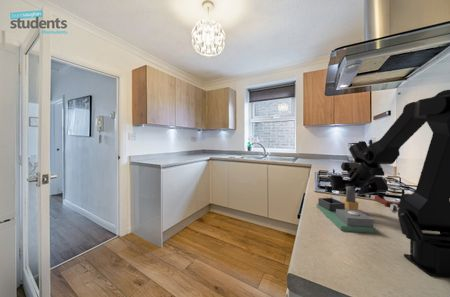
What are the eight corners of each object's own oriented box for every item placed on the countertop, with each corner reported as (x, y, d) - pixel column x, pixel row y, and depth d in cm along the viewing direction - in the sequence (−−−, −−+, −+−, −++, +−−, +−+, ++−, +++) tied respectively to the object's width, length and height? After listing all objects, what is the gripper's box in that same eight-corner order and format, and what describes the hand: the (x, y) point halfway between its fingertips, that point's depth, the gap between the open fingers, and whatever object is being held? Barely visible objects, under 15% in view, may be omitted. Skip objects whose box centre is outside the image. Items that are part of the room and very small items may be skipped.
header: (344, 210, 67) (344, 203, 67) (330, 211, 66) (330, 204, 66) (331, 204, 74) (331, 197, 74) (318, 204, 73) (318, 198, 73)
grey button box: (373, 227, 54) (373, 218, 53) (347, 225, 55) (347, 216, 55) (358, 217, 61) (358, 209, 61) (335, 215, 62) (335, 208, 62)
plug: (358, 212, 69) (358, 183, 69) (348, 211, 70) (349, 183, 69) (352, 208, 73) (352, 181, 73) (343, 207, 74) (343, 180, 74)
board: (375, 233, 53) (375, 228, 53) (340, 230, 55) (341, 225, 54) (340, 208, 74) (341, 204, 74) (316, 206, 75) (316, 203, 75)
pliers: (378, 211, 71) (378, 205, 71) (373, 199, 87) (374, 194, 87) (418, 218, 64) (418, 212, 64) (405, 204, 80) (406, 198, 80)
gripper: (383, 156, 65) (365, 178, 76) (331, 156, 69) (321, 177, 80) (399, 180, 58) (377, 201, 69) (339, 178, 62) (327, 198, 73)
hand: (349, 193), depth 73 cm, fingers open, 7 cm apart
